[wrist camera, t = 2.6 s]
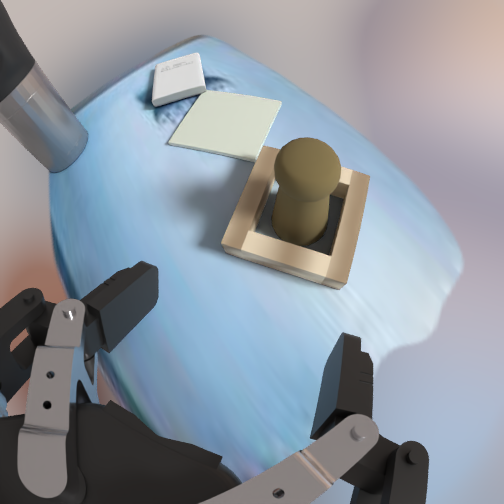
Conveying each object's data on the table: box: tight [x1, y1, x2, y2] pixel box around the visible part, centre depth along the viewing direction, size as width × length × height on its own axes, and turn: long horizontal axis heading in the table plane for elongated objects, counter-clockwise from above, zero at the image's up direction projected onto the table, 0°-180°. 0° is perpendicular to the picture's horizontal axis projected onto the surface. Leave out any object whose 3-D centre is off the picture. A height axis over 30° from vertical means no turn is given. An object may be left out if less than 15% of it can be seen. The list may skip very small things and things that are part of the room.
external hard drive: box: [152, 53, 206, 107], centre depth 38 cm, size 2×8×12 cm
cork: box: [271, 138, 341, 246], centre depth 24 cm, size 6×6×11 cm
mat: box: [168, 90, 282, 162], centre depth 35 cm, size 12×11×1 cm
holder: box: [221, 146, 370, 290], centre depth 28 cm, size 12×12×3 cm
